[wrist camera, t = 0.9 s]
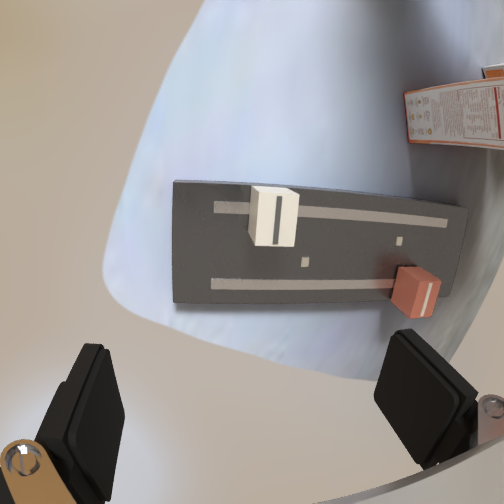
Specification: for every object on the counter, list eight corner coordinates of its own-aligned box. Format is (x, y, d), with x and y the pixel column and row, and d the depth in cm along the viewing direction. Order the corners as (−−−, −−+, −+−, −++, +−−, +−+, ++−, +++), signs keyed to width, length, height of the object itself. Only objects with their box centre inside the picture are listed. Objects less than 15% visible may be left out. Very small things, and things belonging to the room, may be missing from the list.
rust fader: (398, 266, 31) (420, 281, 28) (420, 266, 32) (442, 281, 28) (390, 301, 33) (410, 319, 29) (411, 300, 33) (431, 316, 29)
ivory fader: (251, 185, 27) (259, 192, 23) (286, 187, 27) (299, 194, 23) (248, 232, 28) (255, 246, 24) (282, 233, 28) (294, 247, 25)
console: (175, 179, 28) (172, 182, 26) (458, 205, 33) (470, 209, 31) (174, 293, 31) (172, 303, 29) (440, 289, 36) (450, 297, 34)
